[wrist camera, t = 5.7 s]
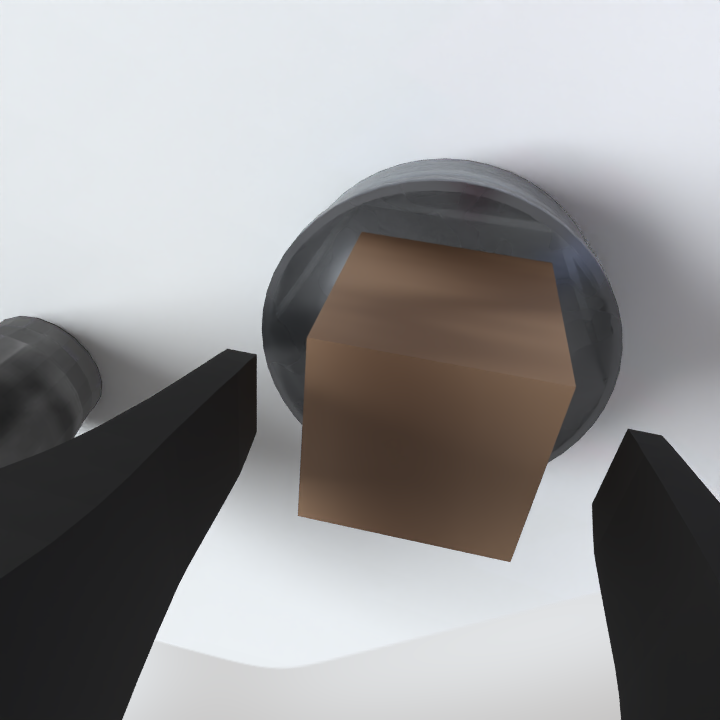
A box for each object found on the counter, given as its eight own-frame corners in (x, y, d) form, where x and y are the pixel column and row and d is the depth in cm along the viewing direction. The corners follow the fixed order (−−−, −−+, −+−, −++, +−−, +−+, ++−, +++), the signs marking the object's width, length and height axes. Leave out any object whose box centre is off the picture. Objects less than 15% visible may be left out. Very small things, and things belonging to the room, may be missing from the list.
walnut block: (551, 262, 14) (576, 387, 10) (506, 412, 16) (510, 562, 12) (361, 231, 14) (306, 337, 10) (346, 381, 17) (297, 515, 13)
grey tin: (676, 231, 16) (709, 280, 13) (508, 462, 21) (509, 527, 19) (347, 91, 15) (318, 114, 13) (262, 362, 21) (230, 415, 18)
